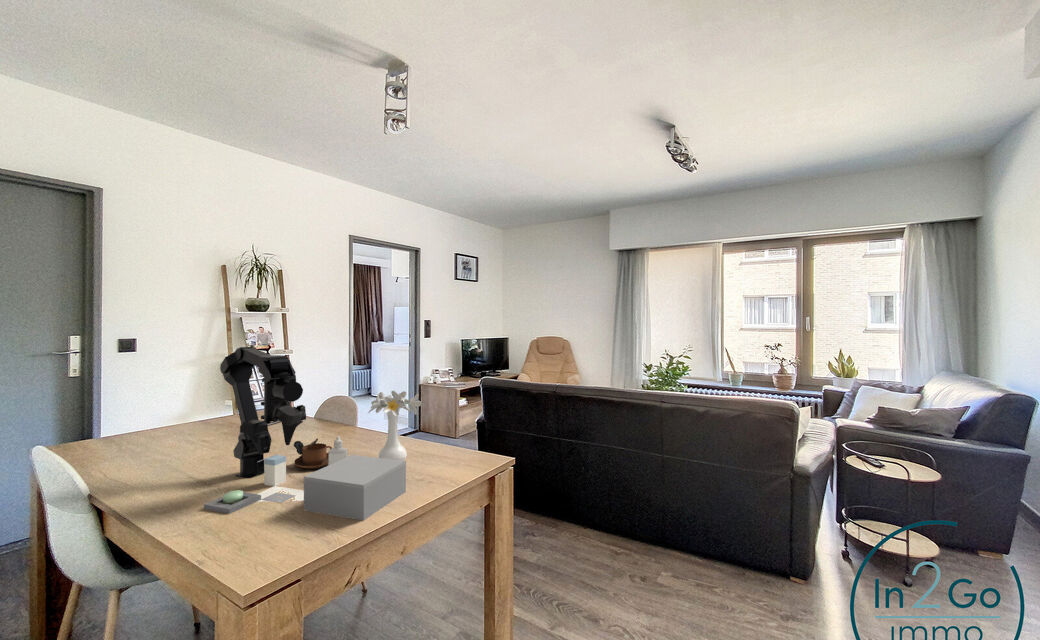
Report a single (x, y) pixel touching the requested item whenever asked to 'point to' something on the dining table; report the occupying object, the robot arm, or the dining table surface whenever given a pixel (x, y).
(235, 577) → the dining table surface
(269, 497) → the paper sheet
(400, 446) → the flower vase
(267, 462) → the white blue upright block
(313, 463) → the cup and saucer
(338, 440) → the eye dropper bottle
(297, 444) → the eagle figurine
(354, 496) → the grey rectangular slab
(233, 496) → the button
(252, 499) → the button housing
